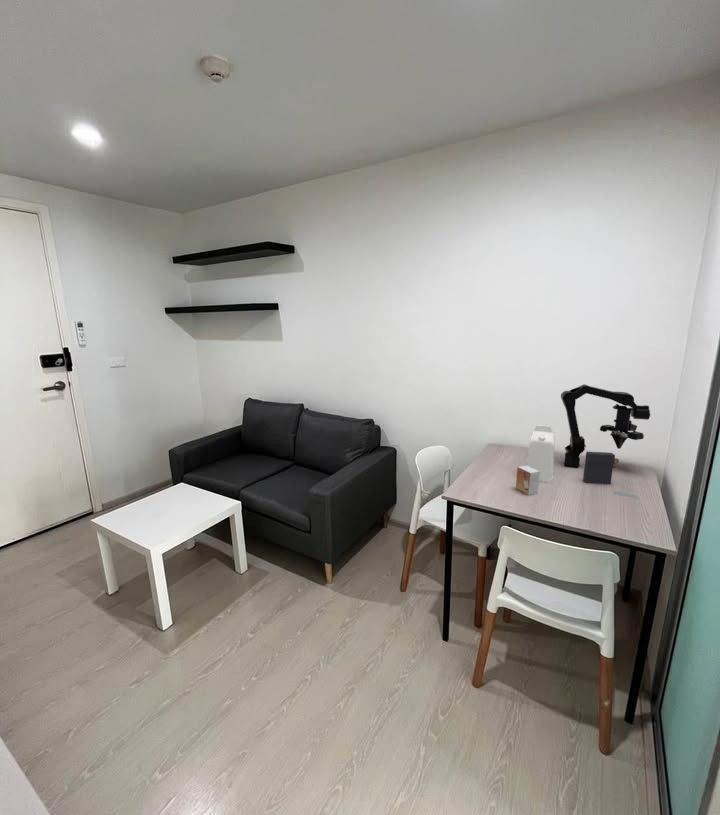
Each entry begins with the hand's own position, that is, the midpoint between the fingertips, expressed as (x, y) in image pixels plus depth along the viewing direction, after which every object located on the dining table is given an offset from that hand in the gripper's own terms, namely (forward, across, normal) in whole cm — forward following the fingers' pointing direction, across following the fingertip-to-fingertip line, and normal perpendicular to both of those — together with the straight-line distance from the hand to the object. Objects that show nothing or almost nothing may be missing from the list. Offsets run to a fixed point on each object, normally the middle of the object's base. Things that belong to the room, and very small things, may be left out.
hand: (618, 448), depth 199 cm
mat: (+12, -18, +20) cm, 30 cm away
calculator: (+12, -7, +23) cm, 27 cm away
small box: (+12, -1, +59) cm, 60 cm away
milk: (+12, +9, +42) cm, 44 cm away
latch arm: (+12, +1, +19) cm, 22 cm away
